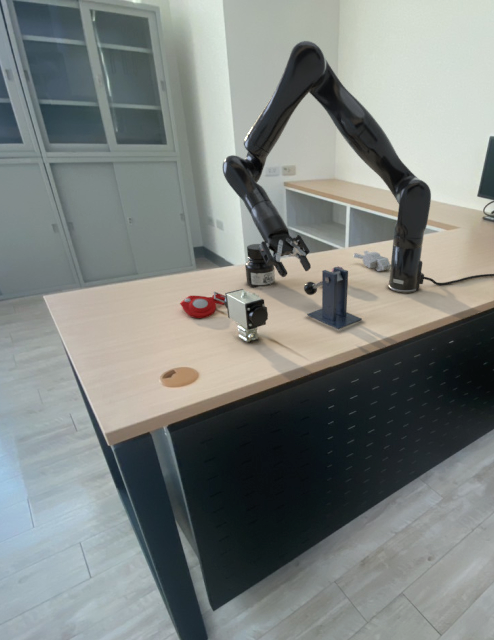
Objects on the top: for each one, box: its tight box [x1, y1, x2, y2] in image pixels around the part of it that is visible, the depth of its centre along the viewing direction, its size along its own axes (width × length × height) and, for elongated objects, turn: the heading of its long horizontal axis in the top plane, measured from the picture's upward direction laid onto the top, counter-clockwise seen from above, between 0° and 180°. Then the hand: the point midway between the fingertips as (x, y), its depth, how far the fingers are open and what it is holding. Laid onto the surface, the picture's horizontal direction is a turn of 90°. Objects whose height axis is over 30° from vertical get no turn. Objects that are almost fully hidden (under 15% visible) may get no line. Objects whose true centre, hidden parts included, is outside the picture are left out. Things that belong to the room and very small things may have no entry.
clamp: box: [306, 266, 363, 330], centre depth 107 cm, size 12×9×14 cm
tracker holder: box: [179, 291, 226, 319], centre depth 111 cm, size 12×4×10 cm
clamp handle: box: [303, 271, 343, 296], centre depth 108 cm, size 14×4×4 cm, turn 47°
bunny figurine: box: [352, 250, 391, 272], centre depth 152 cm, size 10×5×15 cm
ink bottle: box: [245, 243, 276, 289], centre depth 128 cm, size 10×9×12 cm
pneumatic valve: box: [224, 288, 269, 343], centre depth 96 cm, size 6×12×12 cm, turn 46°
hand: (297, 272), depth 113 cm, fingers open, 8 cm apart
